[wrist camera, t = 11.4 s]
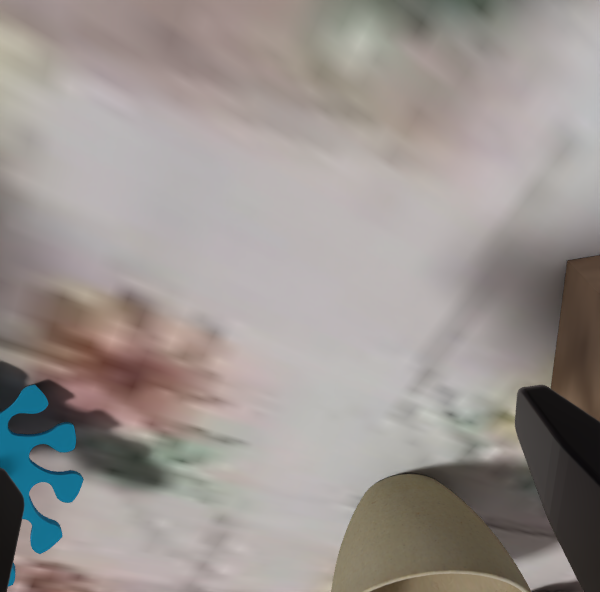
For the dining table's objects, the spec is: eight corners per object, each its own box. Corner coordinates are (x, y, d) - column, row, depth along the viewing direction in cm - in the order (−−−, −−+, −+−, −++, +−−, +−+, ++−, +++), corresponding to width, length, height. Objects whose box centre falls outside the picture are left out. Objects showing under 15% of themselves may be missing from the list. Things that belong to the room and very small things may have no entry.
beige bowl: (409, 415, 27) (447, 545, 21) (520, 492, 31) (579, 619, 25) (282, 509, 31) (285, 642, 25) (396, 567, 35) (422, 693, 29)
